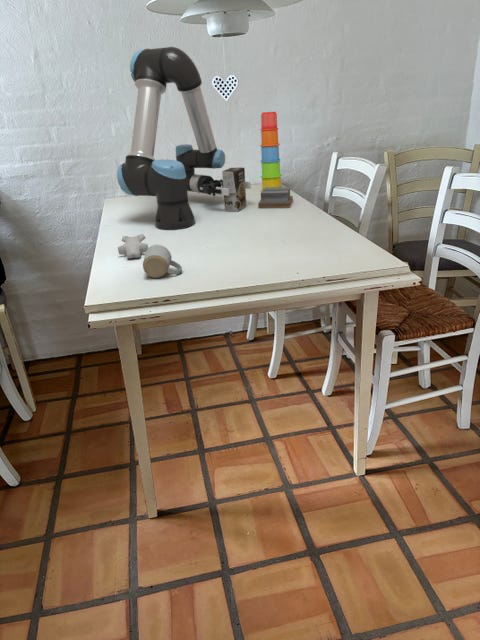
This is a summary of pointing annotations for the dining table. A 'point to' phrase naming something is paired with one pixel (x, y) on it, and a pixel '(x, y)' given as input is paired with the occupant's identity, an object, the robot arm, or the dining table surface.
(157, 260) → the ceramic mug
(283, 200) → the tower stand
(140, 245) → the grey teddy bear
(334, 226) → the dining table surface
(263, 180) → the stacking cups
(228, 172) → the coffee box
